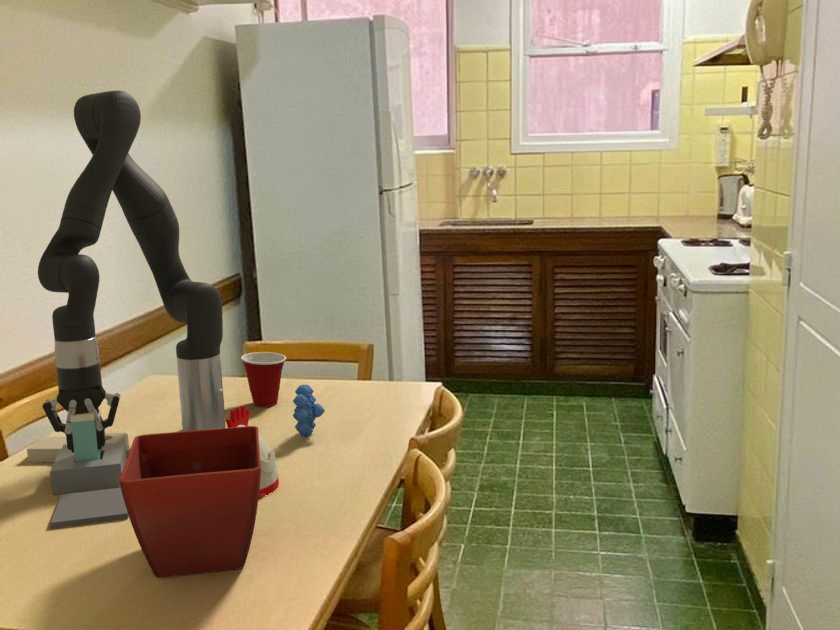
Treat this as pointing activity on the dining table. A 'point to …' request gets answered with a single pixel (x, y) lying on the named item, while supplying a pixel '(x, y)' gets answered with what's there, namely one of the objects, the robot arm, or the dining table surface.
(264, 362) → the plastic cup
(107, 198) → the robot arm
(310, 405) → the grapes
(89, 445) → the plug
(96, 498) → the mat
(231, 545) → the plant pot
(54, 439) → the electrical outlet
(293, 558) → the dining table surface
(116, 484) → the grey square socket block
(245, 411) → the kitchen timer
